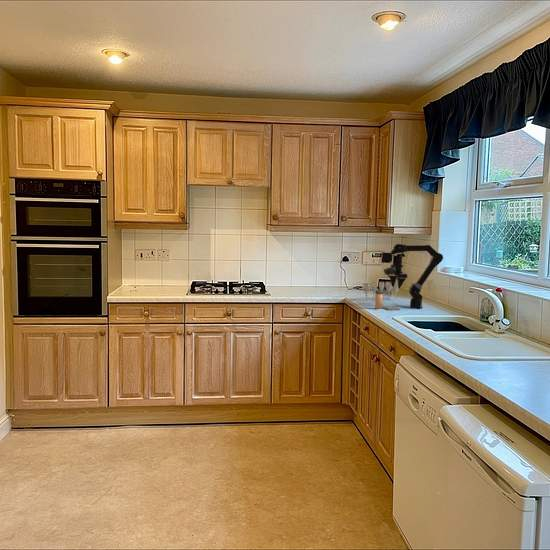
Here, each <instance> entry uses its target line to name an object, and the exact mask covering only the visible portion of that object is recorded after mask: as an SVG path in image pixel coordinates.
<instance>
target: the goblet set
mask: <svg viewBox="0 0 550 550" xmlns="http://www.w3.org/2000/svg"><path fill="white" fill-rule="evenodd" d="M377 285H378V287H379V288H378V290H383V291H384V289H385V290H386V291H387V294H388V295H387V297H388V298H387V300H390V292H391V291H392V290H393V291H394V294H395V295H398V292H399V290H400V289H399V288H398V282H395V284H394V286H393V287H392V285H391V281H379V282H378V284H377V282H374V281H373V282H371V283H363V284H362V291H364V293H365V299H364V301H368V300H367V296H368V293H369V292H370V291H371V289H372V292H373V294H376V293H375V290H377ZM394 300H397V298H395V299H394ZM371 302H375V299H373V300H371Z"/></svg>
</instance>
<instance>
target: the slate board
mask: <svg viewBox="0 0 550 550" xmlns="http://www.w3.org/2000/svg"><path fill="white" fill-rule="evenodd" d="M384 308H385V309H384ZM382 309H384V310H386V309H387V310H386V311H389V310H390V311H401V308H398V307H396V306H394V305H382Z"/></svg>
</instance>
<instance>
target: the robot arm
mask: <svg viewBox="0 0 550 550" xmlns="http://www.w3.org/2000/svg"><path fill="white" fill-rule="evenodd" d="M407 252H427V253H428V254H429V256H431V258H430V261H429V262H428V265H427V266H426V268H425V269H424V270H423V272H422V274H420V276H419V278H418V279H417V281H416V282H415V283H413V282H412V283H411V285H410V286H409V287H408V293H409V295H410V296H411V298H410V299H411V300H410V301H409V309H415V308H416V309H418V310H420V308H421V309H422V308H424V307H423V295H422V294H421V290H422V287H423V286H424V283H425V282H426V281H427V279H428V278H429V277H430V275H431V274H432V272H433V271H434V269H435V268H436V267H437V266H438V265H440V264H441V262H442V261H443V259H444V255H443V254H442V253H441V252H438V251H436V249H434V248H433V247H432V246H431V245H430V244H419V245H417V244H416V245H415V244H410V245H407V244H403V243H396V244H395V245H393V248H392V250H391V251H390V252H385V251H382V252H381V257H380V263H381V264H382V263H383V264H391V263H392V264H391V265H390V267H387V268H384V269H383V273H384V275H387V277H388V278H389V280H390V282H391V285H392V287H393V286H394V284H395V283H396V281H397V283H398V288H399V290H400V289H401V287H402V286H403V284H404V282H405V281H406V280H407V279H408V274H407V273H406V272H403V271H402V268H403V267H404V266H403V258H405V257H406V255H405V254H404V253H407Z"/></svg>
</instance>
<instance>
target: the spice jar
mask: <svg viewBox="0 0 550 550" xmlns="http://www.w3.org/2000/svg"><path fill="white" fill-rule="evenodd" d="M383 299H384V289H383V290H380V289H376V290H375V293H374V300H375V301H374V303H375V304H374V310H377V309H382V310H383V308H382V306H384V305H383V304H384V303H383V302H384V300H383Z"/></svg>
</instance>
